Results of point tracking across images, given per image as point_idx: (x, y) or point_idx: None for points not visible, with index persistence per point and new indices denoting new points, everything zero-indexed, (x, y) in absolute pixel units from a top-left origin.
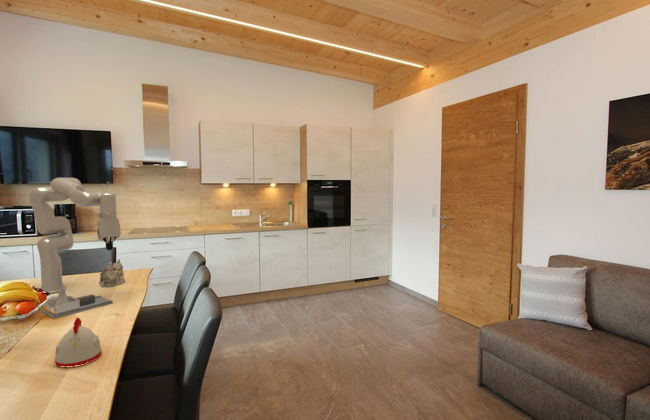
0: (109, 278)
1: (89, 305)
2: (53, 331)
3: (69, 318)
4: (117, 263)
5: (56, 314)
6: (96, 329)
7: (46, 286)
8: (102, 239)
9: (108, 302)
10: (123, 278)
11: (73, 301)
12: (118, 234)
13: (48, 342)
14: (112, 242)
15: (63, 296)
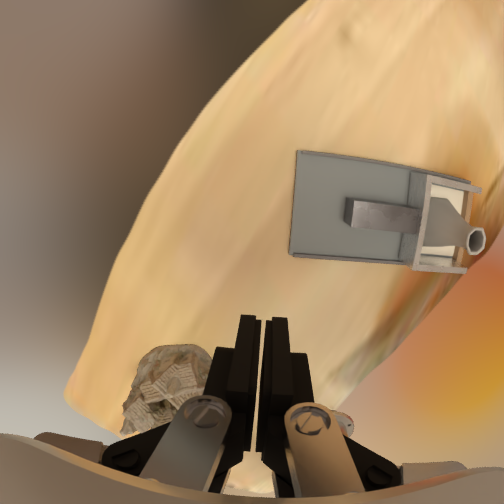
0: (193, 371)
1: (373, 183)
2: (489, 91)
3: (446, 139)
4: (134, 424)
5: (467, 181)
6: (425, 4)
7: (346, 434)
8: (405, 475)
9: (315, 152)
10: (141, 366)
11: (443, 178)
12: (6, 464)
13: (500, 50)
14: (207, 405)
15: (463, 222)
